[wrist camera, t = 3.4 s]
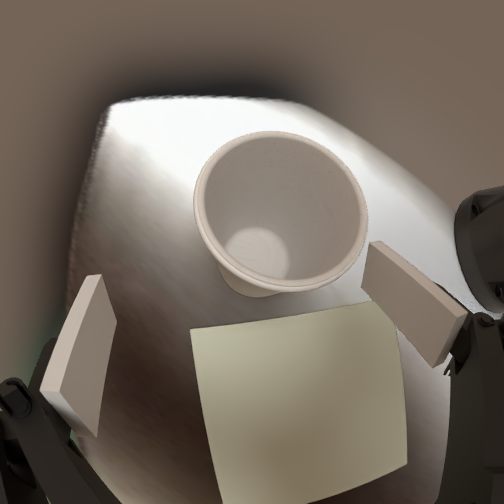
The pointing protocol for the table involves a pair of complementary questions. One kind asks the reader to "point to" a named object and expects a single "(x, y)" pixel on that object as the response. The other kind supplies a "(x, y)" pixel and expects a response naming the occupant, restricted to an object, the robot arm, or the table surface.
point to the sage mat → (302, 403)
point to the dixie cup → (279, 213)
